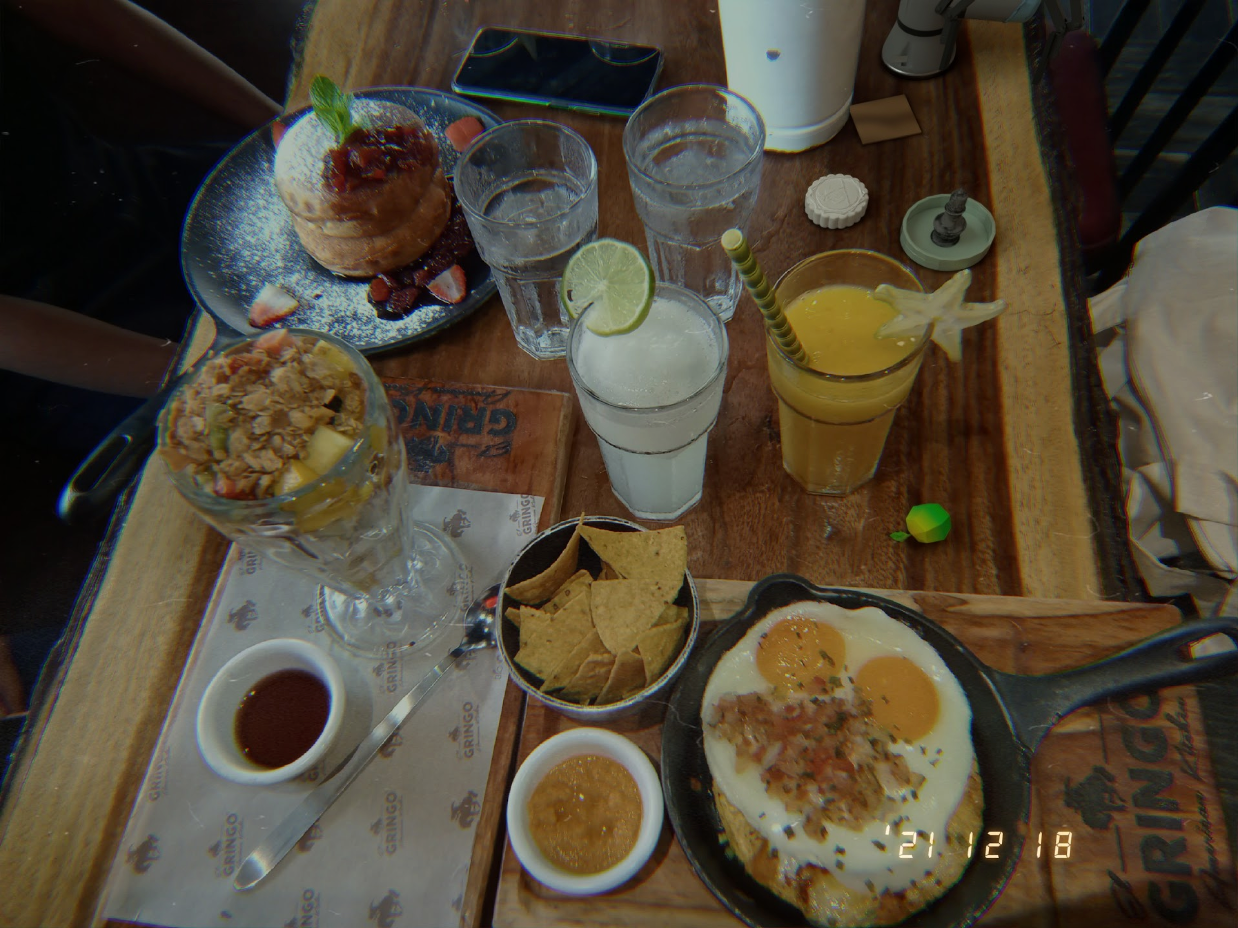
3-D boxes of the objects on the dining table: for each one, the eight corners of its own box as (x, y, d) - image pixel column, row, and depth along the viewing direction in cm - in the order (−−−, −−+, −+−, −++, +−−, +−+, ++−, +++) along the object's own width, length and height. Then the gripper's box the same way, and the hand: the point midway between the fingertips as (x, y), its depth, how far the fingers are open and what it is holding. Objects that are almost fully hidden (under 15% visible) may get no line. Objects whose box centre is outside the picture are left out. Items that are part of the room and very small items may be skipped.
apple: (951, 497, 109) (905, 531, 108) (968, 532, 110) (922, 565, 109) (920, 489, 116) (876, 521, 114) (936, 522, 117) (893, 553, 116)
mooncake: (799, 191, 149) (800, 177, 146) (858, 180, 148) (861, 166, 145) (811, 234, 144) (812, 221, 141) (873, 224, 143) (876, 210, 140)
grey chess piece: (961, 249, 137) (980, 201, 126) (928, 248, 138) (944, 200, 128) (961, 225, 139) (980, 176, 129) (929, 224, 141) (944, 175, 130)
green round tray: (889, 215, 143) (892, 203, 141) (973, 198, 142) (978, 186, 139) (914, 278, 136) (917, 267, 133) (1003, 261, 135) (1008, 250, 132)
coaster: (847, 107, 158) (848, 106, 157) (904, 96, 157) (904, 94, 156) (862, 145, 152) (863, 144, 152) (921, 133, 151) (921, 132, 151)
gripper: (941, -105, 100) (899, 68, 114) (1146, -94, 90) (1073, 94, 103) (956, -106, 105) (914, 59, 119) (1152, -96, 94) (1082, 84, 108)
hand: (988, 76), depth 111 cm, fingers open, 13 cm apart
